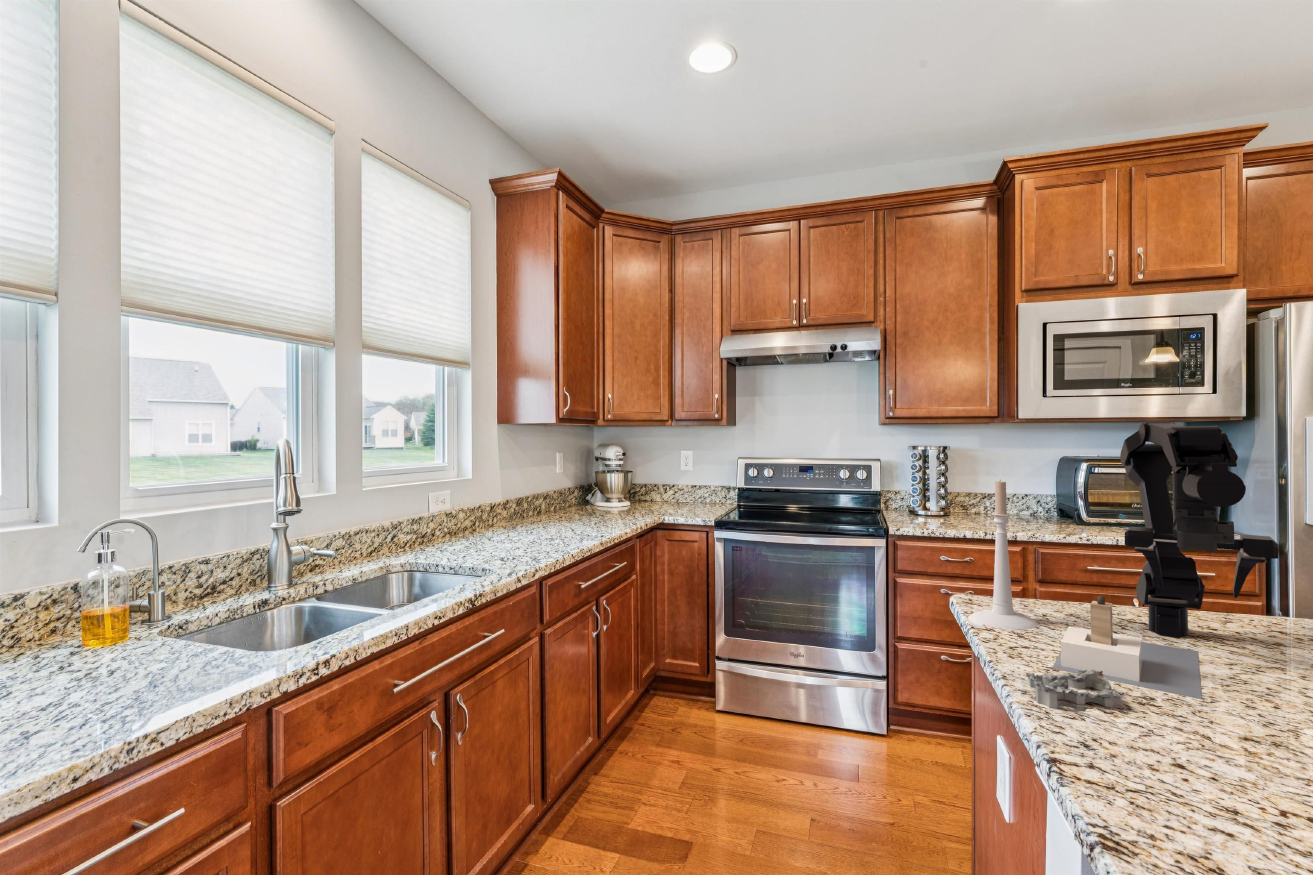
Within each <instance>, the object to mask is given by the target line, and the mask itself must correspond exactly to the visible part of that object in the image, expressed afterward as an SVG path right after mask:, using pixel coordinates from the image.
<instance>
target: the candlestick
mask: <svg viewBox="0 0 1313 875" xmlns="http://www.w3.org/2000/svg"><path fill="white" fill-rule="evenodd" d="M994 497H995V498H994V502H995V503H994V505H995V506H994V507H995V508H994V510H995V511H994V513H993V512H992V513H990V515H991V516H992V517H993V522H994V524H996V525H995V526H996V531H995V545H994V546H995V547H994V549H995V550H994V551H995V552H994V568H993V569H994V572H993V574H994V576H993V597H992V598H993V599H992V602H993V603H992V606H991V609H983V610H977V611H975V612H973V613H971V614H969V616H968V617H967V622H968V623H969V625H971V626H972V627H974V628H976V629H978V630H979V629H980V628H981V627H982V626H986V627H991V628H996V629H1002V630H1012V631H1013V630H1014V631H1025V630H1026V631H1027V630H1032V629H1036V628H1037V627H1038V625H1039V623H1038V622H1037V621H1036V620H1034V619H1033V618H1031V617H1029V616H1027V615H1025V614H1022V613H1019V612H1017V611H1015V610H1014V606H1013V604H1014V602H1013V595H1012V580H1011V568H1010V556H1009V554H1010V553H1009V544H1008V543H1009V542H1008V531H1007V525H1008V524H1009V517H1010V516H1012V514H1011V513H1007V482H1006V481H1002V480H999V481H994Z"/></svg>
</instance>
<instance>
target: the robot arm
mask: <svg viewBox="0 0 1313 875" xmlns="http://www.w3.org/2000/svg"><path fill="white" fill-rule="evenodd" d="M1119 454H1120V455H1119V456H1120V459H1119V460H1120V464H1121V466H1123V467H1124V470H1125V474H1126V477H1127V478H1128V479H1129V480H1130V481H1131V482H1132V483H1134V484H1135V486H1137V488H1138V493H1139V499H1140V503H1141V509H1142V513H1143V514H1142V516H1143V521H1144V527H1136V526H1130V527H1128V528H1126V530H1125V531H1124V546H1126V547H1131V548H1132V547H1133V548H1134V550H1133V551H1134V552H1136V553H1141V554H1142V555H1143V556H1144V558H1145V560H1146V561H1145V563H1144V565H1143V566H1142V567H1141V568H1142V570H1141V571H1142V572H1141V574H1140V576H1139V578H1138V581H1137V584H1136V586H1135V594H1136V595H1135V596H1136V600H1137V601H1139V602H1140V603H1141V604H1143V606H1148V607H1147V610H1148V611H1147V612H1148V616H1147V617H1148V630H1149V631H1151V632H1152V633H1155V634H1156V635H1158V636H1160V637H1167V638H1172V639H1179V638H1181V637H1182V638H1183V637H1184V638H1185V637H1187V636H1189V609H1196V610H1201V609H1202V606H1203V600H1204V594H1205V588H1206V585H1205V584H1204V583H1203V582H1204V581H1203V579H1202V577H1201V576H1199V575H1198V570H1197V564H1196V561H1195V560H1194V558H1193V557H1192V556H1186V554H1184V553H1183V552H1182V550H1185V551H1190V550H1198V551H1199V550H1200V551H1204V552H1207V553H1210V552H1211V553H1212V552H1213V553H1214V552H1216V551H1219V550H1227V551H1229V550H1230V551H1238V552H1237V557H1236V563H1235V564H1236V565H1235V572H1234V577H1233V578H1234V579H1233V586H1232V589H1233V590H1232V591H1233V595H1232V596H1233V598H1234V599H1238V597H1239V595H1240V593H1241V591H1242V588H1243V586H1244V584H1245V581H1246V580H1247V577H1248V576H1249V574H1250V573H1251V571H1252V570H1253V569H1254V568H1255V566H1256V565H1257V564H1259V563H1260V564H1266V563H1267V559H1274V560H1275V559H1279V544H1278V542H1277V541H1276V540H1275V539H1273V538H1272V537H1271V536H1269V535H1254V534H1242V533H1241V534H1240V536H1239V537H1240V538H1235V522H1234V521H1230V520H1229V521H1228V520H1220V508H1227V507H1231V506H1234V505H1237V504H1238V503H1239V502H1240V501H1241V500H1243V498H1244V496H1245V494H1246V490H1247V489H1246V485H1245V483H1244V481H1243V479H1242V478H1241V477H1240V476H1239V475H1238V474H1237V473H1234V472H1232V471H1229V468H1237V467H1238V466H1237V465H1238V464H1237V460H1238V458H1239V456H1238V454H1237V452H1236V450H1235V448H1234V446H1233V444H1232V442H1231V440H1230V439H1229V437H1228V435H1227V433H1226V432H1224V431H1223V429H1222V428H1221V427H1220V426H1218V425H1193V426H1191V425H1189V426H1187V425H1185V426H1184V425H1179V424H1176V423H1175V422H1171V421H1170V420H1167V421H1163V420H1160V421H1159V420H1157V421H1145V422H1141V423H1140V425H1139V428H1138V430H1137V431H1135V432H1134V433H1132V434H1131V435H1129V436H1128V437H1126V438H1125V439H1124V441H1123V444H1122V446H1121V449H1120V453H1119ZM1171 475H1172V501H1171V496H1170V491H1169V490H1170V489H1169V485H1168V479H1169V478H1170V477H1171Z"/></svg>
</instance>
